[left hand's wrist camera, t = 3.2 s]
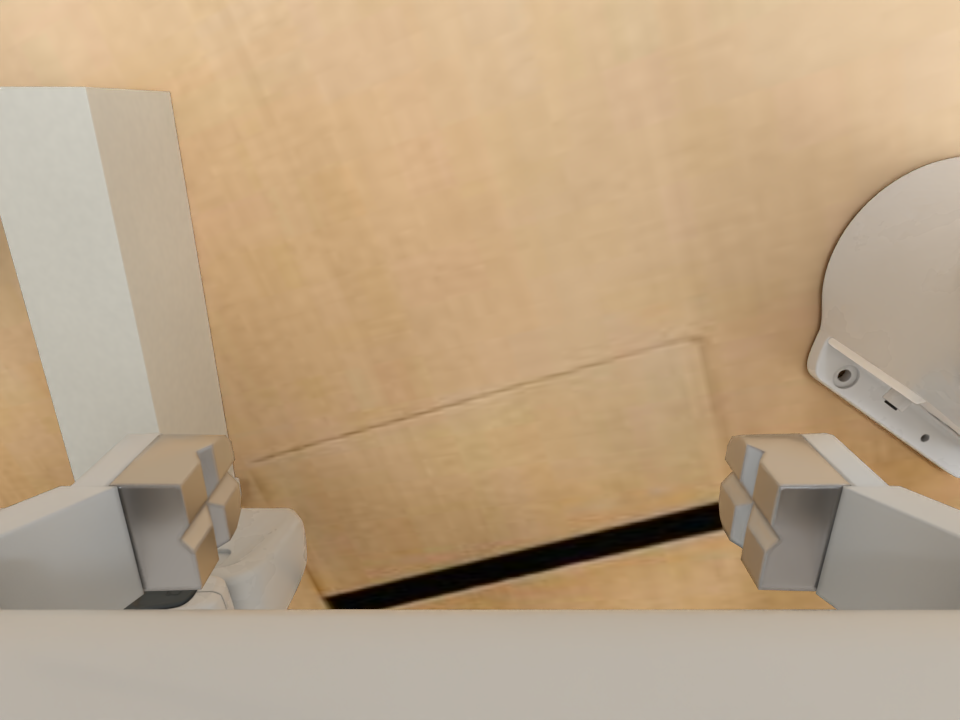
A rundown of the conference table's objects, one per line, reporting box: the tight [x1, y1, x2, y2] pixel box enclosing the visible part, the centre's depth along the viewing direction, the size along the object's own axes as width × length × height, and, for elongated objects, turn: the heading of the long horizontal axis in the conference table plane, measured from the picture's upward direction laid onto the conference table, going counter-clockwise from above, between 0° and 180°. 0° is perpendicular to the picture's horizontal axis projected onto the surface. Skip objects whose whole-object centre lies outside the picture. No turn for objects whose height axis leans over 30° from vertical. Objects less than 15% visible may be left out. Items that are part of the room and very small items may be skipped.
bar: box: [0, 87, 235, 482], centre depth 37 cm, size 28×5×8 cm, turn 0°
